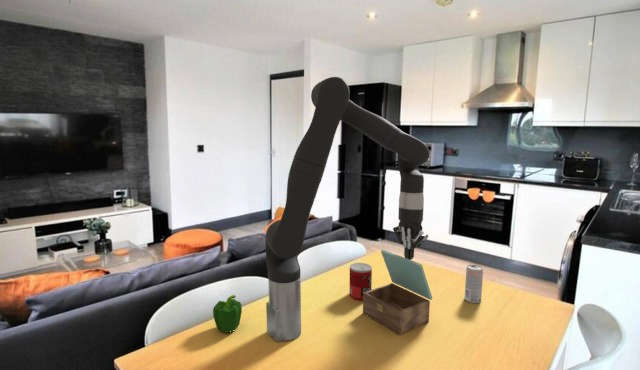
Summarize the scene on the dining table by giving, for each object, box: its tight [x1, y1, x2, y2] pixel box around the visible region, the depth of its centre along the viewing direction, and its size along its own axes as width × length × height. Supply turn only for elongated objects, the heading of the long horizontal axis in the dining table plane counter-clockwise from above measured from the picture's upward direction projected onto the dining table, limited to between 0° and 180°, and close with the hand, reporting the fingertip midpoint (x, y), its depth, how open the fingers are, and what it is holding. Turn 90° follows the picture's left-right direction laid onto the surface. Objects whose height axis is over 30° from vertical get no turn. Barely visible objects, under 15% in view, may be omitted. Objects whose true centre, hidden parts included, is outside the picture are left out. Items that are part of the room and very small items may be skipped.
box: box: [362, 282, 431, 336], centre depth 116 cm, size 13×16×7 cm
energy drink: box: [464, 264, 484, 304], centre depth 128 cm, size 5×5×12 cm
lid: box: [380, 249, 434, 301], centre depth 117 cm, size 14×16×1 cm
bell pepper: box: [212, 294, 243, 333], centre depth 110 cm, size 8×8×10 cm
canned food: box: [349, 262, 373, 301], centre depth 131 cm, size 8×8×11 cm
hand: (408, 259), depth 117 cm, fingers closed
